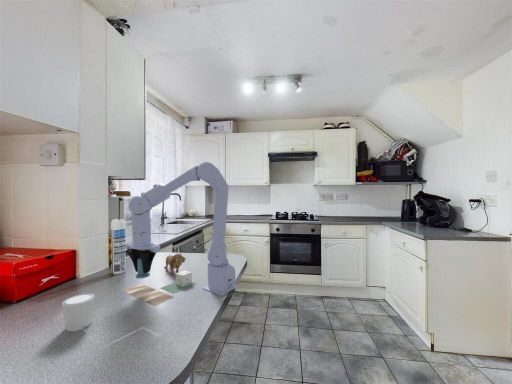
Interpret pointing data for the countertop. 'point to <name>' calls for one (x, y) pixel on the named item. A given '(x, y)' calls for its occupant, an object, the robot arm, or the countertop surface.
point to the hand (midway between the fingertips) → (142, 271)
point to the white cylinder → (78, 311)
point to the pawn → (141, 270)
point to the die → (183, 278)
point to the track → (148, 294)
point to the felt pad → (176, 287)
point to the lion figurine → (174, 262)
